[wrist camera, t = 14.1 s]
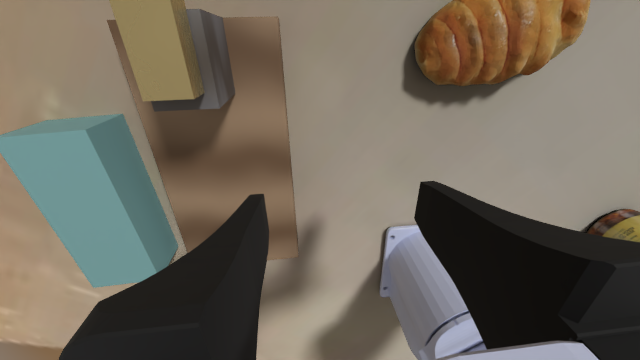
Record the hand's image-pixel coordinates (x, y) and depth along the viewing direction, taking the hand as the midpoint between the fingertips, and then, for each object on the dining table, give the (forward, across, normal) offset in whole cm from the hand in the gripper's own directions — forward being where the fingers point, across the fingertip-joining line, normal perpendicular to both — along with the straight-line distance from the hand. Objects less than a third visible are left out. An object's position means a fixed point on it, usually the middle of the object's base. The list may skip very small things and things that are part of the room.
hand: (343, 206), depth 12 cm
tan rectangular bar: (+3, +7, -8) cm, 11 cm away
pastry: (+10, -12, -7) cm, 17 cm away
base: (+9, +7, +1) cm, 12 cm away
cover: (+10, +16, +3) cm, 19 cm away
